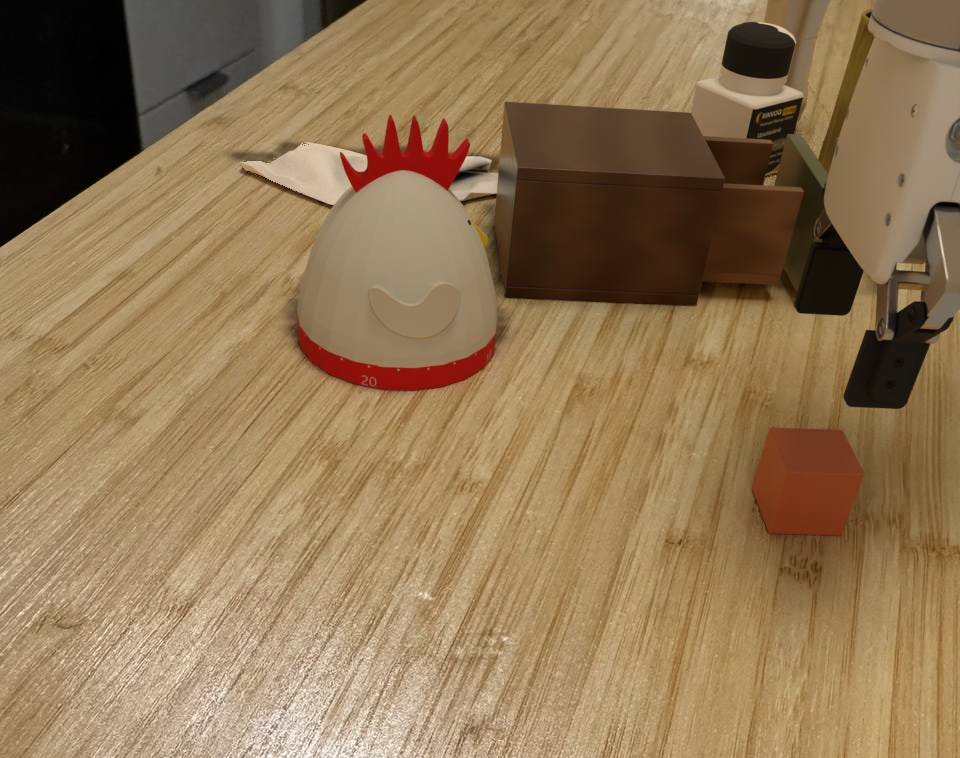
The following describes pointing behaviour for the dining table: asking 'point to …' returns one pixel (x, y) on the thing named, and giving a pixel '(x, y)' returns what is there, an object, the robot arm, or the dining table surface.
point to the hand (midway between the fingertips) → (845, 356)
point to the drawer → (764, 211)
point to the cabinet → (604, 204)
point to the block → (806, 481)
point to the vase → (847, 87)
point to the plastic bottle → (799, 36)
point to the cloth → (327, 181)
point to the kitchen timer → (399, 273)
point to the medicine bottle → (751, 89)
